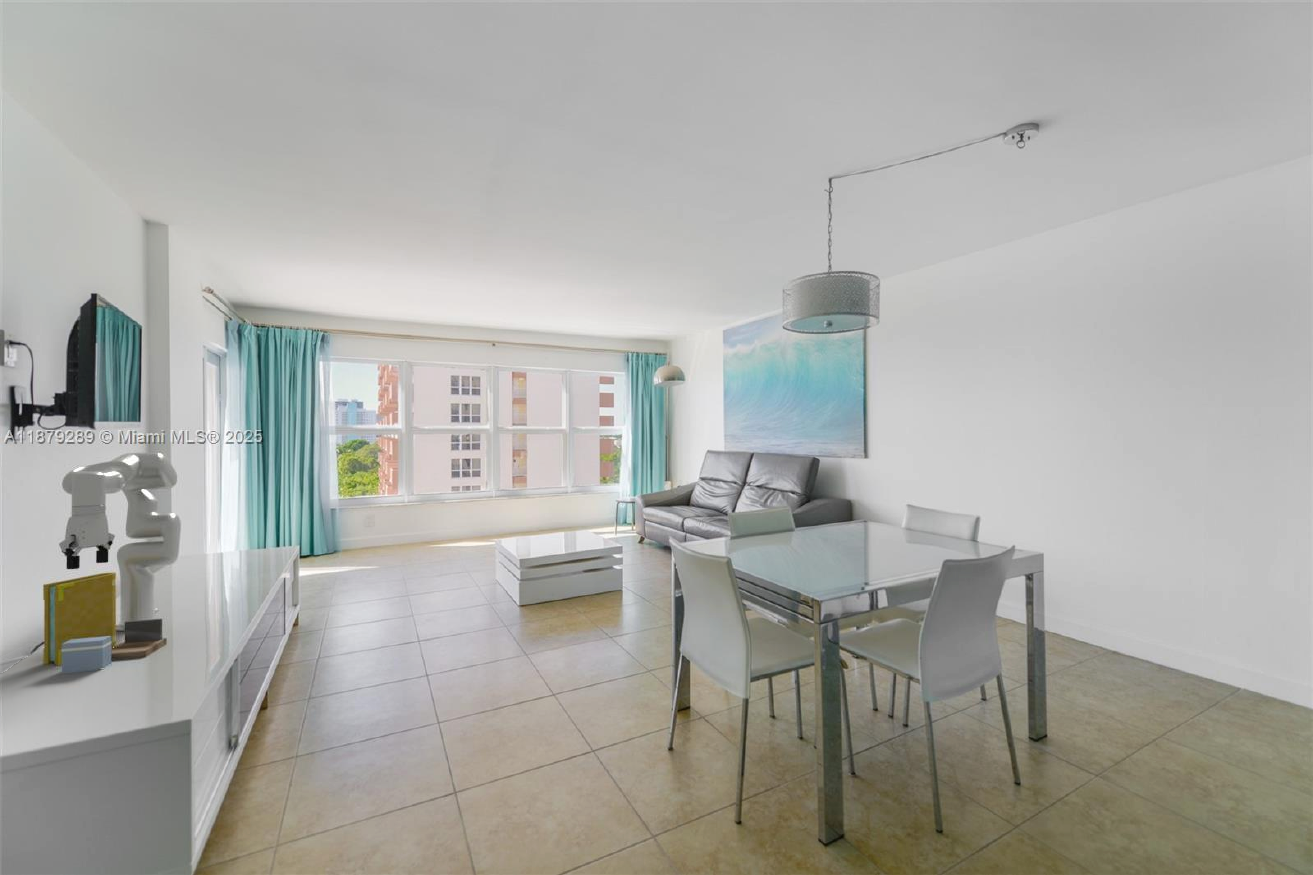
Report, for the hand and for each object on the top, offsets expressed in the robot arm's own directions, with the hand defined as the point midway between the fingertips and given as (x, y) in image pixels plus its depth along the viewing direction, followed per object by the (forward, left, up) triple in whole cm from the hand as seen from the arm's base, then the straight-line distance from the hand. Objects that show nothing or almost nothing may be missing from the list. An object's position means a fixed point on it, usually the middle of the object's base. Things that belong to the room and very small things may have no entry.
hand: (88, 565), depth 175 cm
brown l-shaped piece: (-8, +8, -31) cm, 33 cm away
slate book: (+4, +2, -31) cm, 32 cm away
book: (-11, -7, -31) cm, 34 cm away
